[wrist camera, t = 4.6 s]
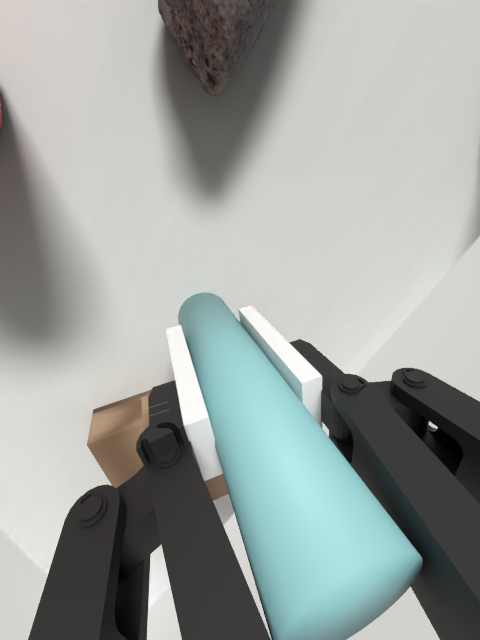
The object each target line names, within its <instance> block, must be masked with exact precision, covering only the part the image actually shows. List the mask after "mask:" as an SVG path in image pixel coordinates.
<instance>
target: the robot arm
mask: <svg viewBox="0 0 480 640" xmlns="http://www.w3.org/2000/svg"><path fill="white" fill-rule="evenodd" d="M238 310H239V316H240V322H241V325H242V326H243V327H244V328H245V330H246V331H247V332H248V334H249V335H250V336H251V337H252V339H253V340H254V341H255V343H256V344H257V345H258V346H259V348H260V349H261V350H262V352H263V353H264V354H265V356H266V357H267V358H268V359H269V361H270V362H271V363H272V365H273V366H274V367H275V368H276V370H277V371H278V372H279V374H280V375H281V376H282V377H283V379H284V380H285V381H286V383H287V384H288V385H289V387H290V388H291V389H292V390H293V392H294V393H295V394H296V396H297V397H298V398H299V399H300V401H301V402H302V403H303V405H304V406H305V407H306V408H307V410H308V411H309V412H310V414H311V415H312V416H313V418H314V419H315V420H316V421H317V423H318V424H319V425H320V427H321V428H322V422H323V423H324V424H325V425H326V427H327V428H328V429H329V438H330V439H331V441H332V442H333V443H334V445H335V446H336V447H337V449H338V450H339V451H340V452H341V454H342V455H343V456H344V458H345V459H346V460H347V461H348V463H349V464H350V465H351V467H352V468H353V469H354V470H355V472H356V473H357V474H358V476H359V477H360V478H361V479H362V481H363V482H364V483H365V485H366V486H367V487H368V489H369V490H370V491H371V492H372V494H373V495H374V496H375V498H376V499H377V500H378V501H379V503H380V504H381V505H382V507H383V508H384V509H385V510H386V512H387V513H388V514H389V516H390V517H391V518H392V520H393V521H394V522H395V523H396V525H397V526H398V527H399V529H400V530H401V531H402V532H403V534H404V535H405V536H406V538H407V539H408V540H409V541H410V543H411V544H412V545H413V547H414V548H415V549H416V551H417V552H418V553H419V554H420V556H421V557H422V559H423V565H422V569H421V571H420V573H419V575H418V576H417V578H416V579H415V581H414V582H413V584H412V585H411V588H412V589H413V591H414V593H415V594H416V597H417V598H418V600H419V602H420V604H421V606H422V608H423V609H424V611H425V613H426V615H427V617H428V618H429V620H430V622H431V624H432V626H433V627H434V629H435V631H436V633H437V635H438V636H439V638H440V640H480V402H479V401H477V400H475V399H474V398H472V397H470V396H468V395H466V394H465V393H463V392H461V391H459V390H457V389H456V388H454V387H452V386H450V385H448V384H446V383H445V382H443V381H441V380H439V379H438V378H436V377H434V376H432V375H430V374H429V373H426V372H424V371H422V370H419V369H414V368H401V369H398V370H396V371H395V372H394V373H393V375H392V380H391V381H383V382H367V381H366V380H365V379H363V378H362V377H359V376H357V375H352V374H344V373H343V372H342V371H341V370H340V369H339V368H338V367H336V366H335V365H334V364H333V363H332V362H331V361H330V360H328V359H327V358H326V357H325V356H323V354H322V353H320V352H319V351H317V349H316V348H315V347H314V346H312V345H311V344H310V343H308V342H305V341H303V340H301V339H299V340H296V341H293V342H290V343H289V342H288V341H287V340H286V339H285V338H284V337H283V336H282V335H281V334H280V333H279V332H278V331H277V330H276V329H275V328H274V327H273V326H272V325H271V324H270V323H269V322H268V321H267V320H266V319H265V318H264V317H263V316H262V315H261V314H260V313H259V312H258V311H257V310H256V309H255V308H254V307H253V306H252V305H251V306H247V307H243V308H240V309H238ZM166 332H167V338H168V343H169V349H170V354H171V360H172V365H173V370H174V376H175V381H171V382H168V383H165V384H162V385H159V386H156V387H153V388H152V391H151V393H150V395H149V397H148V407H149V426H148V427H147V428H146V429H145V430H144V431H143V432H142V433H141V434H140V436H139V438H138V440H137V443H136V451H137V453H138V455H139V457H140V459H141V461H142V463H143V467H142V468H141V469H140V470H139V471H138V472H137V473H136V474H135V475H134V476H132V477H131V478H130V479H128V480H127V481H126V482H124V483H123V484H121V485H120V486H119V487H117V488H115V487H113V486H110V485H102V486H97V487H95V488H93V489H91V490H89V491H88V492H86V493H85V494H84V495H83V496H81V497H80V498H79V499H78V500H77V501H76V503H75V504H74V505H73V506H72V508H71V509H70V511H69V513H68V515H67V517H66V519H65V522H64V525H63V528H62V532H61V535H60V538H59V541H58V545H57V548H56V551H55V554H54V557H53V561H52V564H51V567H50V570H49V574H48V577H47V580H46V583H45V587H44V590H43V593H42V597H41V600H40V603H39V606H38V609H37V613H36V616H35V619H34V622H33V626H32V629H31V632H30V636H29V639H28V640H147V617H148V595H149V572H150V554H151V553H152V552H153V551H154V550H155V549H157V548H158V547H159V546H160V545H161V544H162V548H163V553H164V557H165V562H166V567H167V571H168V576H169V581H170V585H171V590H172V594H173V599H174V604H175V609H176V613H177V618H178V623H179V627H180V632H181V636H182V640H271V639H270V637H269V635H268V632H267V630H266V628H265V625H264V623H263V620H262V618H261V616H260V613H259V611H258V608H257V606H256V603H255V601H254V599H253V596H252V594H251V592H250V589H249V587H248V584H247V582H246V580H245V577H244V575H243V572H242V570H241V568H240V565H239V563H238V560H237V558H236V556H235V553H234V551H233V548H232V546H231V544H230V541H229V539H228V536H227V534H226V532H225V529H224V527H223V524H222V522H221V520H220V517H219V515H218V512H217V510H216V508H215V505H214V503H213V500H212V498H211V496H210V493H209V491H208V489H207V486H206V484H205V481H206V480H209V479H211V478H213V477H216V476H218V475H221V474H223V471H222V468H221V465H220V461H219V458H218V454H217V451H216V447H215V437H214V434H213V430H212V427H211V423H210V419H209V416H208V413H207V409H206V406H205V403H204V400H203V396H202V393H201V390H200V386H199V383H198V380H197V377H196V373H195V370H194V367H193V363H192V360H191V357H190V354H189V350H188V347H187V344H186V341H185V337H184V334H183V331H182V327H181V325H178V326H175V327H171V328H168V329H166ZM429 421H430V422H432V423H433V424H434V425H436V426H437V427H438V429H435V428H432V427H431V426H429V425H428V424H429Z"/></svg>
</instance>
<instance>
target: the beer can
mask: <svg viewBox="0 0 480 640" xmlns="http://www.w3.org/2000/svg"><path fill="white" fill-rule="evenodd" d="M1 125H2V113H1V98H0V128H1Z"/></svg>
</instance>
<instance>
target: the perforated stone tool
mask: <svg viewBox="0 0 480 640" xmlns="http://www.w3.org/2000/svg"><path fill="white" fill-rule="evenodd" d="M275 2H276V0H158V9H159V13H160V14H161V17H162V19H163V20H164V23H165V25H166V28H167V30H168V31H169V33H170V34H171V35H172V37H173V38H174V40H175V43H176V44H177V46H178V48H179V49H180V51H181V52H182V54H183V55H184V57H185V59H186V61H187V63H188V65H189V66H190V68H191V70H192V71H193V73H194V74H195V75H196V76H197V77H198V78H199V79H200V81H201V83H202V85H203V88H204V89H205V90H206V92H208V93H210V94H211V95H212V96H213V97H214V96H217V95H219V94H221V93H222V92H223V91H224V90H225V89H226V87H227V86H228V85H229V84H230V82H231V81H232V79H233V78H234V76H235V75H236V73H237V72H238V70H239V69H240V67H241V65H242V64H243V62H244V61H245V59H246V57H247V55H248V53H249V52H250V50H251V48H252V46H253V44H254V41H255V39H256V37H257V36H258V34H259V32H260V30H261V28H262V27H263V25H264V23H265V21H266V19H267V17H268V15H269V14H270V12H271V10H272V8H273V6H274V4H275Z"/></svg>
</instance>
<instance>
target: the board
mask: <svg viewBox="0 0 480 640" xmlns="http://www.w3.org/2000/svg"><path fill="white" fill-rule="evenodd" d="M151 391H152V390H150V391H147V392H144V393H141V394H138V395H135V396H132V397H129V398H127V399H124V400H121V401H118V402H115V403H112V404H109V405H106V406H103V407H100V408H97V409H94V410H93V415H92V421H91V426H90V432H89V437H88V442H87V446H88V447H89V449H90V451H91V452H92V454H93V455H94V457H95V459H96V460H97V462H98V463H99V465H100V467H101V468H102V470H103V471H104V473H105V475H106V476H107V478H108V479H109V481H110V483H111V484H112V486H113V487H115V488H117V487H119V486H120V485H121V484H123V483H124V482H126V481H127V480H128V479H130V478H131V477H132V476H134V475H135V474H136V473H137V472H138V471H139V470H140V469H141V468H142V467H143V463H142V461H141V459H140V457H139V455H138V453H137V451H136V443H137V440H138V438H139V436H140V434H141V433H142V432H143V431H144V430H145V429H146V428H147V427H148V426H149V407H148V397H149V395H150V393H151ZM205 484H206V486H207V489H208V491H209V493H210V496H211V498H212V500H215V499H217V498H220V497H222V496H224V495H226V494H228V493H229V492H228V488H227V485H226V482H225V478H224V475H223V474H221V475H218V476H216V477H213V478H211V479H209V480H206V481H205Z"/></svg>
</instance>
